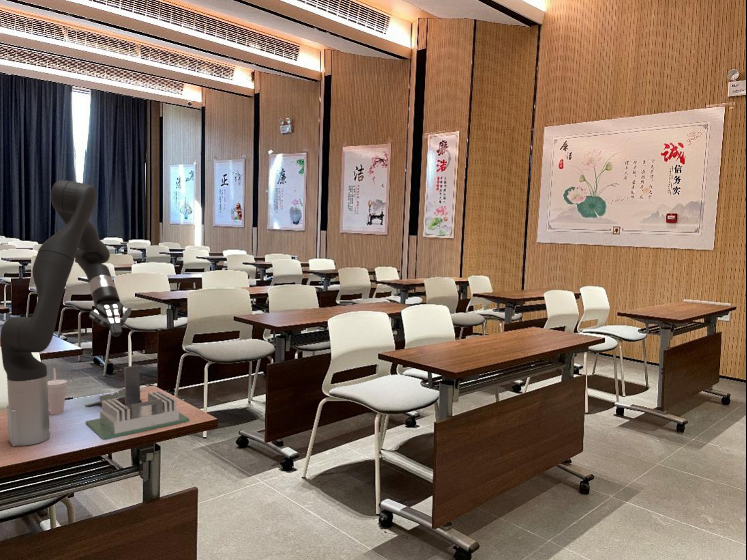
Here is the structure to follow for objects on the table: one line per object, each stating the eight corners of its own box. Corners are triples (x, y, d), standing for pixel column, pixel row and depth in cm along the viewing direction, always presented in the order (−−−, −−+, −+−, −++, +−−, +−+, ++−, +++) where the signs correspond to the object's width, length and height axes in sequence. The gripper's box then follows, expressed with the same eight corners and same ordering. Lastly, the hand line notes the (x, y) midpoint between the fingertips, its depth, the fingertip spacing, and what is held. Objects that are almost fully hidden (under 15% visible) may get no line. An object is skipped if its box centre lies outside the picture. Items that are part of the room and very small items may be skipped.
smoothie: (64, 408, 186) (62, 364, 185) (71, 413, 181) (69, 368, 180) (42, 413, 181) (40, 368, 180) (49, 417, 177) (46, 371, 176)
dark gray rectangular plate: (125, 406, 174) (124, 367, 172) (124, 405, 174) (123, 367, 173) (141, 403, 176) (139, 365, 175) (139, 402, 177) (138, 364, 176)
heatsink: (103, 439, 159) (102, 410, 158) (85, 423, 171) (84, 396, 171) (189, 421, 174) (188, 394, 173) (167, 407, 187) (166, 383, 186)
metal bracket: (148, 383, 196) (110, 394, 182) (152, 400, 195) (114, 412, 182) (120, 389, 202) (81, 400, 189) (124, 406, 202) (85, 418, 189)
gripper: (84, 286, 184) (97, 330, 176) (127, 283, 193) (142, 325, 185) (80, 301, 189) (92, 344, 180) (122, 298, 197) (136, 339, 189)
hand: (117, 335), depth 183 cm, fingers closed
